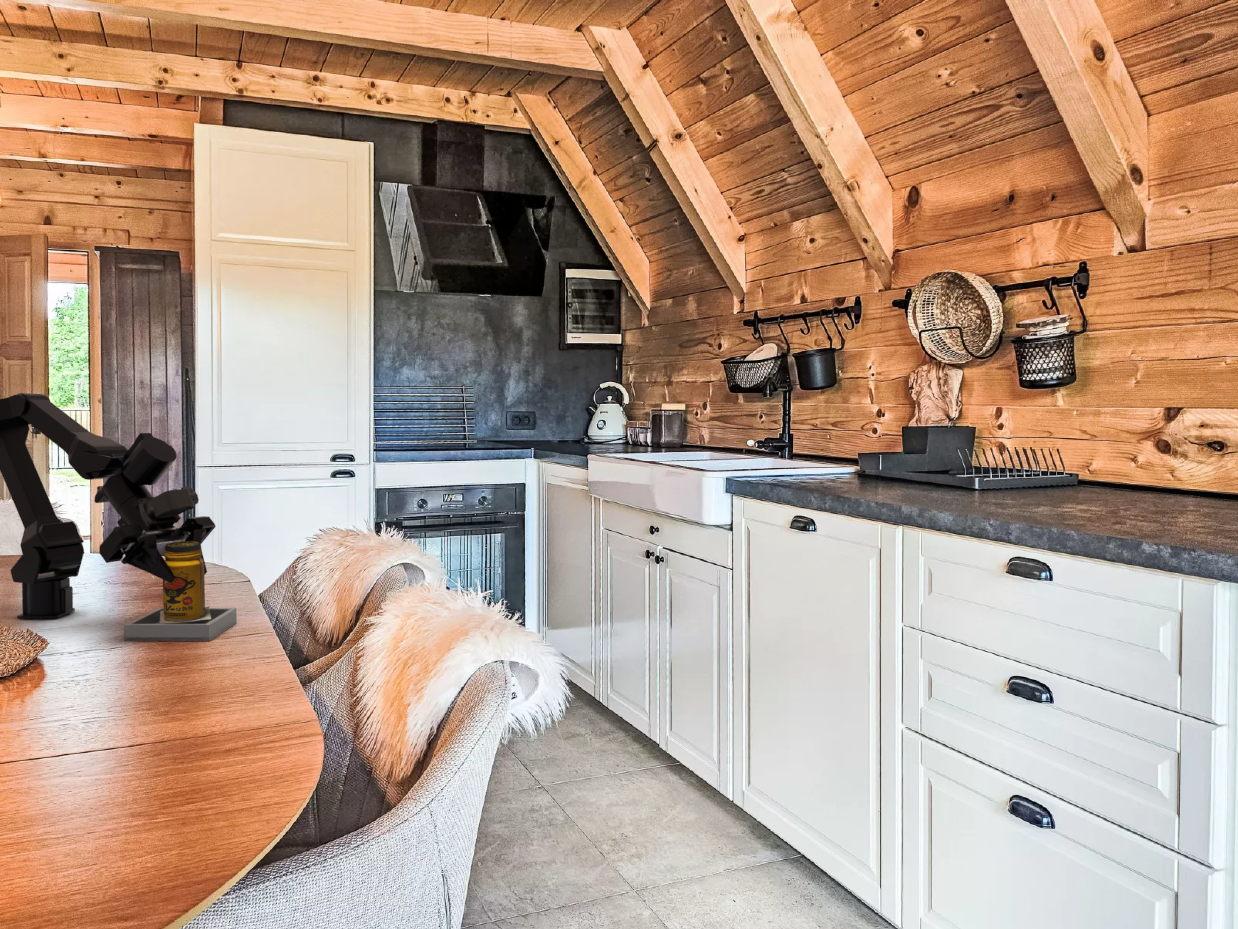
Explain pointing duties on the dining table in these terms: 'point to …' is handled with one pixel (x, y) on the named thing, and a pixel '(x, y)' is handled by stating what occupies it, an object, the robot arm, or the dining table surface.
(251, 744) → the dining table surface
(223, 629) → the tray
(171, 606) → the condiment
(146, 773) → the dining table surface
